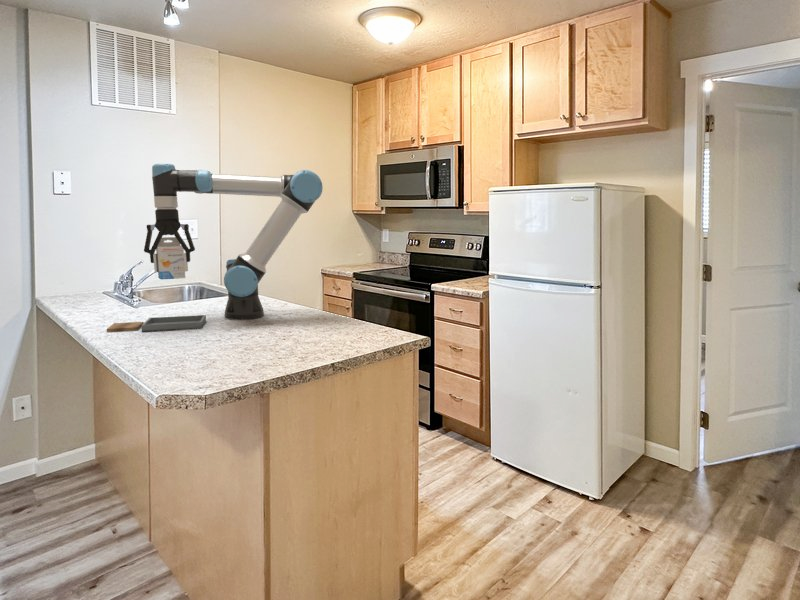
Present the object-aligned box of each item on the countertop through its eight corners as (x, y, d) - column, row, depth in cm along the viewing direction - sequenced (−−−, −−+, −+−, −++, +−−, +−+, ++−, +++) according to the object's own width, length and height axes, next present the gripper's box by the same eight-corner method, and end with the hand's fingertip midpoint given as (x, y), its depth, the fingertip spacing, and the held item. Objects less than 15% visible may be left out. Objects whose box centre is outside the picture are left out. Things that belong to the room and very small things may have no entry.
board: (143, 324, 198) (143, 321, 198) (137, 330, 188) (137, 327, 188) (114, 326, 196) (114, 323, 195) (106, 332, 186) (106, 328, 186)
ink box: (160, 279, 187) (157, 238, 185) (158, 278, 192) (154, 237, 189) (186, 278, 192) (182, 237, 190) (183, 276, 196) (180, 236, 194)
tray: (206, 321, 204) (205, 315, 203) (202, 329, 190) (201, 322, 190) (150, 324, 199) (149, 317, 199) (141, 332, 186) (141, 325, 185)
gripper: (200, 208, 194) (204, 269, 198) (135, 209, 188) (140, 271, 192) (198, 208, 187) (202, 271, 191) (130, 208, 181) (136, 273, 185)
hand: (171, 271), depth 191 cm, fingers closed on ink box, 9 cm apart
